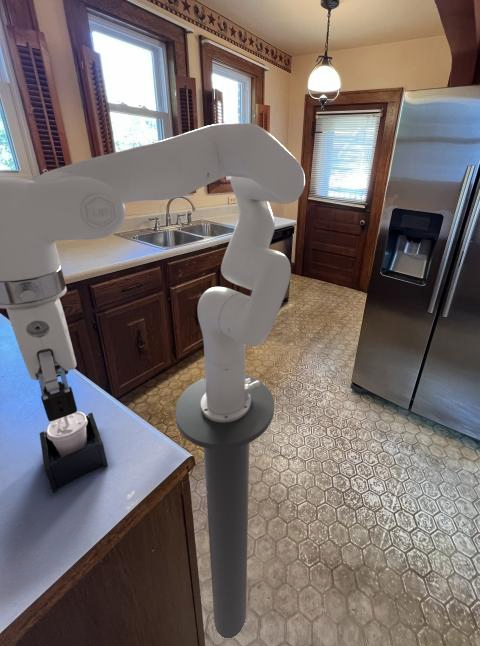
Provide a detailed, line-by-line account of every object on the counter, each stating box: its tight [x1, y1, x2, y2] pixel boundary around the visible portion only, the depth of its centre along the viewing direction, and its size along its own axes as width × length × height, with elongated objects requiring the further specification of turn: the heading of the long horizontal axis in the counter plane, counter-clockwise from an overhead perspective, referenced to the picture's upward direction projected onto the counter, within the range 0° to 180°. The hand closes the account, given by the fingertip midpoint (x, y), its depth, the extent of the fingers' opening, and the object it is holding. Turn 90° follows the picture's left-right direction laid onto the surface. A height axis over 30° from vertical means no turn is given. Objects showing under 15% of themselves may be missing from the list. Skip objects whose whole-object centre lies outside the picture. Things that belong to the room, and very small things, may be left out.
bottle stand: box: [39, 412, 109, 494], centre depth 60 cm, size 9×10×6 cm
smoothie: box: [45, 411, 88, 458], centre depth 59 cm, size 6×6×14 cm
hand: (59, 394), depth 45 cm, fingers open, 9 cm apart
